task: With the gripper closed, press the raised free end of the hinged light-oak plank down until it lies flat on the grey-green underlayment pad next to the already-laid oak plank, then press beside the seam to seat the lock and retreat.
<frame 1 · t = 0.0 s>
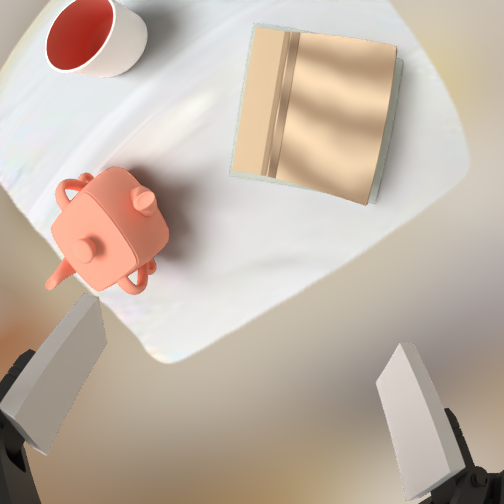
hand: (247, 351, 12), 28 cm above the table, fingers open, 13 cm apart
cup: (118, 45, 29), on the table
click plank: (331, 110, 28), point 5 cm above the table, hinge at 27.0°
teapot: (128, 214, 39), on the table
underlayment pad: (319, 110, 32), on the table
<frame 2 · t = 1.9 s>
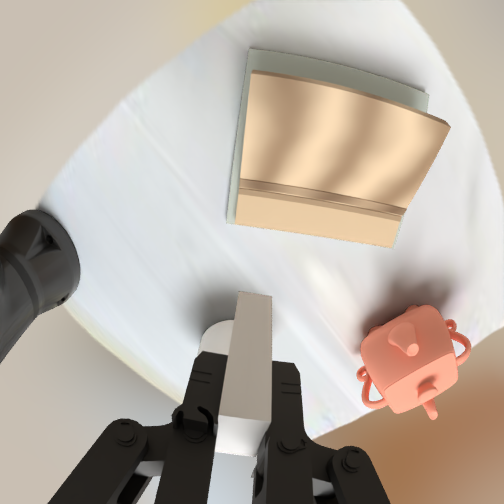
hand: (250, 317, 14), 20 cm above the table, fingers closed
cup: (236, 341, 41), on the table
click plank: (343, 150, 25), point 5 cm above the table, hinge at 27.0°
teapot: (399, 334, 40), on the table
underlayment pad: (331, 151, 29), on the table
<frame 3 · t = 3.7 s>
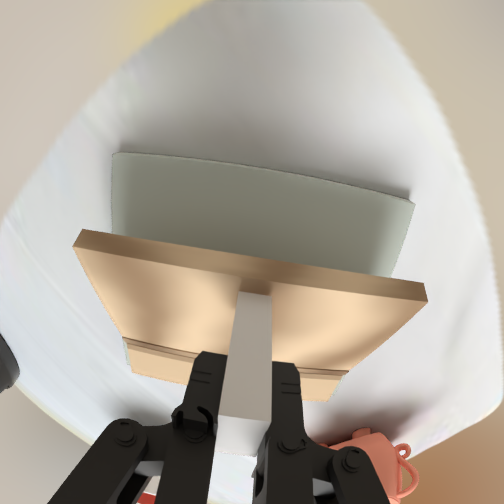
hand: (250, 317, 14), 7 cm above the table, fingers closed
cup: (169, 442, 34), on the table
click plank: (242, 326, 18), point 4 cm above the table, hinge at 24.6°, touching gripper
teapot: (346, 446, 32), on the table
underlayment pad: (245, 297, 22), on the table
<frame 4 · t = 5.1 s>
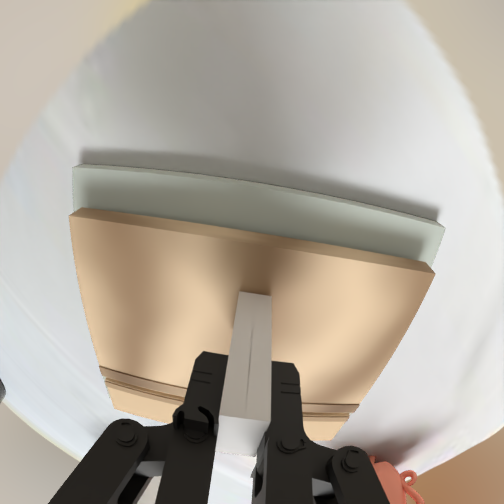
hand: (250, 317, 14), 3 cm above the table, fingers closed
cup: (161, 467, 30), on the table
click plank: (238, 338, 15), point 2 cm above the table, hinge at 2.4°, touching gripper
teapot: (349, 472, 29), on the table
underlayment pad: (238, 335, 18), on the table
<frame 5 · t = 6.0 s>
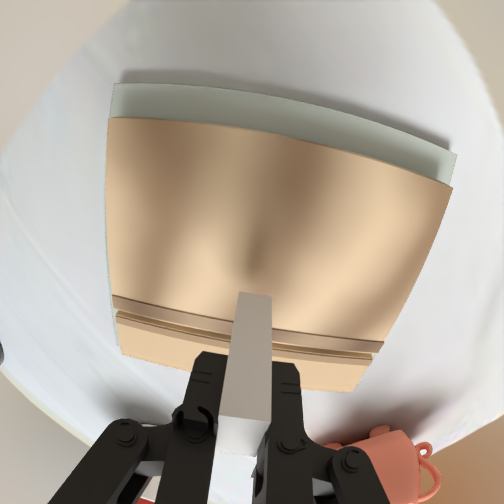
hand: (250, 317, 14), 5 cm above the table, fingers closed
cup: (164, 439, 30), on the table
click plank: (266, 250, 16), point 2 cm above the table, hinge at 2.4°
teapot: (361, 446, 29), on the table
underlayment pad: (262, 259, 18), on the table
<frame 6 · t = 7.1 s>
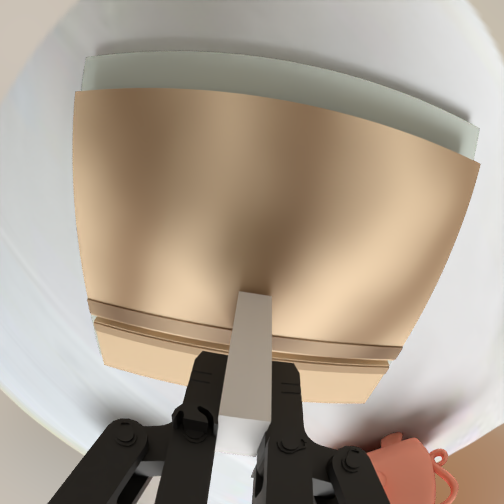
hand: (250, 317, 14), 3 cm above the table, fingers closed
cup: (160, 451, 27), on the table
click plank: (263, 242, 13), point 2 cm above the table, hinge at 2.4°, touching gripper
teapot: (372, 454, 26), on the table
underlayment pad: (259, 254, 15), on the table
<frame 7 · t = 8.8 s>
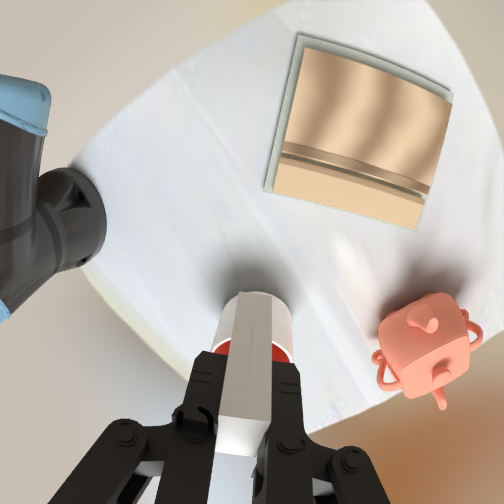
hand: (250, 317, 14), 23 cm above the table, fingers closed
cup: (257, 315, 42), on the table
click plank: (373, 122, 28), point 2 cm above the table, hinge at 2.4°
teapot: (413, 321, 40), on the table
underlayment pad: (365, 134, 30), on the table
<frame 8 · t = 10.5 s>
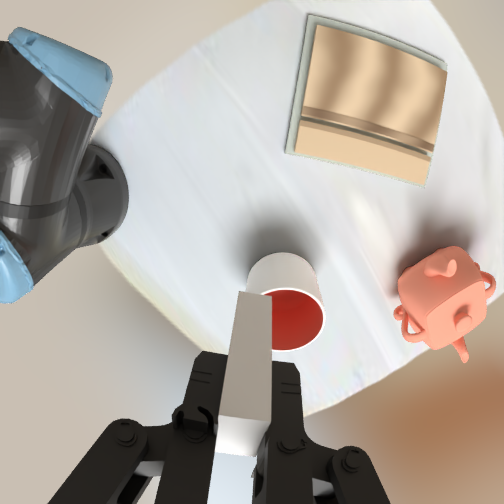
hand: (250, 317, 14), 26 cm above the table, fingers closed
cup: (281, 279, 43), on the table
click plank: (380, 88, 29), point 2 cm above the table, hinge at 2.4°
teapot: (428, 278, 42), on the table
underlayment pad: (373, 100, 31), on the table
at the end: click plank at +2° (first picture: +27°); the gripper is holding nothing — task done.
